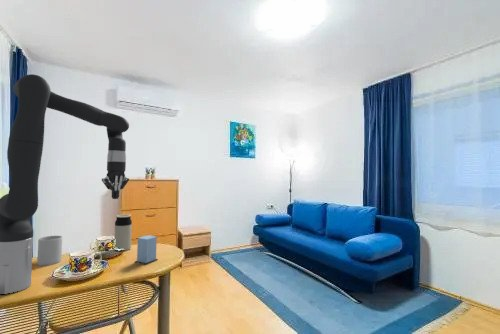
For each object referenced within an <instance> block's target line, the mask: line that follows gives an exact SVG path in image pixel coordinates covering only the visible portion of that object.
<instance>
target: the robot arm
mask: <svg viewBox="0 0 500 334" xmlns="http://www.w3.org/2000/svg"><path fill="white" fill-rule="evenodd" d="M13 92H14V95H15V96H16V97H17V98H18V104H17V105H18V108H17V113H16V115H15V118H14V120H13V124H12V126H11V130H10V132H9V137H8V143H7V150H6V155H7V157H6V159H7V165H8V168H9V173H10V183H9V190H8V193H6V194H4V195H3V196H1V197H0V294H7V293H10V294H12V293H13V292H14V293H17V291H18V292H20V291H23V290H24V291H25V290H26V289H28V288H29V287H30V286H32V276H33V275H32V270H33V267H32V266H33V250H34V249H33V248H34V247H33V246H34V229H33V226H32V224H31V217H34V215H35V213H36V212H37V210H38V207H39V176H40V170H41V164H42V157H43V150H44V149H43V148H44V142H45V141H44V139H45V119H46V111H47V109H51V110H54V111H58V112H61V113H62V114H66V115H68V116H72V117H74V118H77V119H79V120H82V121H84V122H87V123H90V124H93V125H95V126H99V127H106V134H107V139H108V140H107V141H108V144H107V145H108V147H107V155H106V159H107V160H106V171H107V173H106V175H105V177H104V178H101V182H102V183H103V184H104V186H105V188H106V189H107V190H110V191H111V198H112V200H118V199H119V197H120V191H121V190H123V189H124V188H125V187H126V185H127V184H128V182H129V181H130V178H127V177H126V173H125V172H126V169H127V168H126V164H127V163H126V162H127V155H126V150H127V149H126V148H127V147H126V140H125V139H123V133H125V132H127V131H128V130H129V129H130V123H129V122H128V120H127V119H126V118H124V117H123V116H121V115H117V114H114V113H112V112H107V111H105V110H102V109H100V108H98V107H96V106H93V105H90V104H89V103H85V102H82V101H79V100H74V99H71V98H68V97H64V96H62V95H59V94H58V93H55V92H54V91H51V87H50V84H49V83H48V81H47V80H46V79H45V78H43V76H40V75H38V74H32V73H31V74H26V75H23V76H21V77H20V78H19V79H18V80H17V81H16V82H15V84H14V85H13ZM14 293H13V294H14ZM7 295H8V294H7Z"/></svg>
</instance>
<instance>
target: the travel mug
mask: <svg viewBox="0 0 500 334" xmlns="http://www.w3.org/2000/svg"><path fill="white" fill-rule="evenodd" d="M115 217H116V220H115V221H114V238H115V239H116V247H119V248H124V249H125V250H126V251H128V250H130V249H131V248H132V227H133V226H132V221H133V220H132V219H131V217H132V214H129V213H128V214H127V213H126V214H125V213H124V214H117V215H115Z"/></svg>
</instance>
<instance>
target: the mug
mask: <svg viewBox="0 0 500 334" xmlns="http://www.w3.org/2000/svg"><path fill="white" fill-rule="evenodd" d="M62 250H63V236H61V235H50V236H49V235H48V236H43V237H40V238H38V241H37V258H36V261H37V262H36V263H37V266H40V267H43V266H45V267H47V266H51V265H56V264H59V263H60V262H62V258H63V257H62V252H63V251H62Z"/></svg>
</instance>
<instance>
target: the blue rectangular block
mask: <svg viewBox="0 0 500 334" xmlns="http://www.w3.org/2000/svg"><path fill="white" fill-rule="evenodd" d="M157 238H158V237H157V236H155V235H150V234H149V235H144V236H140V237H138V238H137V249H136V250H137V252H136V261H139V262H144V263H148V262H150V261H153V260H155V259H157V244H158V243H157Z"/></svg>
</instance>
